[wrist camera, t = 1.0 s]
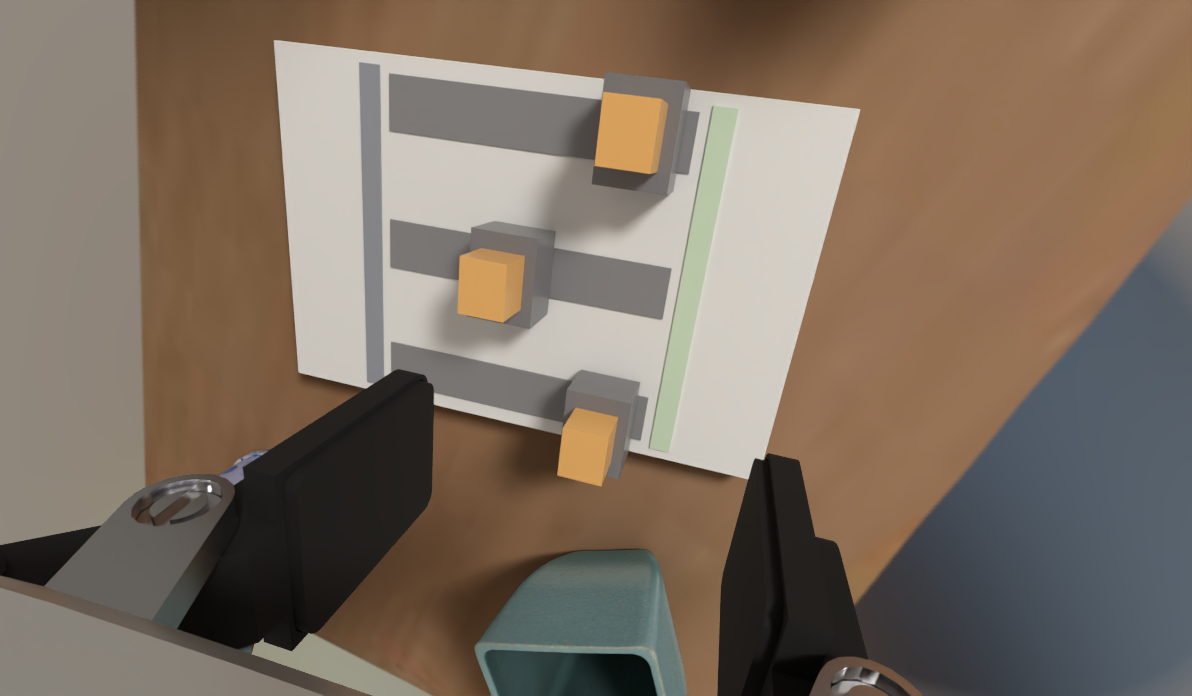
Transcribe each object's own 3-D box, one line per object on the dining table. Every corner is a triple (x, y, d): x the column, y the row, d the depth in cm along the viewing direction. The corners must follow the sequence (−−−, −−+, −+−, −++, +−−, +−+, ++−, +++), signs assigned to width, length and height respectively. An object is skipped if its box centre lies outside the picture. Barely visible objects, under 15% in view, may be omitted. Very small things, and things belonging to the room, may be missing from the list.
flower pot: (568, 638, 36) (519, 781, 28) (533, 525, 34) (469, 645, 26) (701, 640, 34) (690, 797, 26) (674, 518, 31) (653, 648, 23)
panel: (304, 47, 27) (272, 39, 25) (850, 112, 23) (860, 109, 21) (322, 360, 33) (297, 373, 32) (756, 460, 29) (757, 482, 27)
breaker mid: (494, 220, 26) (448, 233, 22) (555, 231, 25) (520, 246, 21) (489, 302, 27) (445, 329, 23) (547, 313, 27) (513, 343, 22)
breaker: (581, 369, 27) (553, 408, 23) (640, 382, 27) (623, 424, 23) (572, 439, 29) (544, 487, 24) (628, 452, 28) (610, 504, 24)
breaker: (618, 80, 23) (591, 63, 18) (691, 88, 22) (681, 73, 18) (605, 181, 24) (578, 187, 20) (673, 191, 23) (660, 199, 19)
